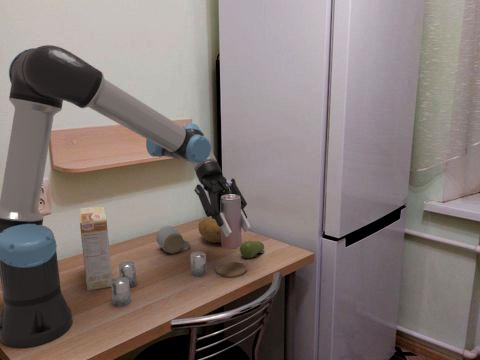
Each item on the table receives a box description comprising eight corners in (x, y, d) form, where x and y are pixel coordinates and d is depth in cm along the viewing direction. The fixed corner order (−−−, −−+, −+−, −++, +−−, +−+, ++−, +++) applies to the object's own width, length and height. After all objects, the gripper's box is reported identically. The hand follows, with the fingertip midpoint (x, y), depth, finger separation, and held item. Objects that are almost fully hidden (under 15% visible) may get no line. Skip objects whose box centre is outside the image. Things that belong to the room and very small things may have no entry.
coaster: (212, 276, 123) (212, 273, 123) (220, 263, 132) (220, 260, 131) (243, 278, 121) (243, 275, 121) (248, 265, 130) (248, 262, 130)
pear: (237, 240, 135) (255, 237, 143) (235, 257, 136) (253, 252, 144) (251, 244, 132) (268, 240, 140) (250, 261, 132) (267, 256, 140)
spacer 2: (189, 276, 123) (188, 256, 122) (194, 269, 128) (193, 251, 126) (203, 277, 123) (203, 257, 121) (208, 270, 127) (207, 251, 126)
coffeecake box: (85, 269, 129) (79, 208, 125) (110, 266, 131) (104, 205, 127) (86, 291, 115) (78, 222, 111) (113, 286, 118) (107, 219, 114)
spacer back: (117, 287, 117) (115, 267, 116) (124, 280, 121) (123, 260, 120) (132, 288, 116) (130, 268, 115) (139, 281, 121) (137, 261, 119)
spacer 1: (109, 305, 107) (107, 283, 106) (118, 297, 112) (116, 276, 110) (125, 307, 106) (124, 285, 105) (133, 298, 111) (132, 277, 109)
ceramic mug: (164, 256, 138) (163, 234, 136) (156, 248, 145) (155, 227, 143) (194, 250, 143) (194, 229, 141) (185, 243, 150) (184, 222, 148)
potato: (219, 250, 142) (218, 227, 141) (192, 240, 152) (191, 219, 150) (239, 242, 149) (239, 221, 147) (212, 233, 159) (212, 213, 157)
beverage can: (219, 243, 127) (217, 195, 124) (238, 241, 129) (237, 193, 125) (224, 250, 121) (223, 200, 118) (244, 248, 123) (243, 198, 120)
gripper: (227, 170, 138) (258, 231, 129) (175, 178, 128) (205, 245, 118) (236, 156, 133) (269, 219, 124) (182, 164, 122) (215, 232, 113)
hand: (238, 232), depth 121 cm, fingers closed on beverage can, 6 cm apart
